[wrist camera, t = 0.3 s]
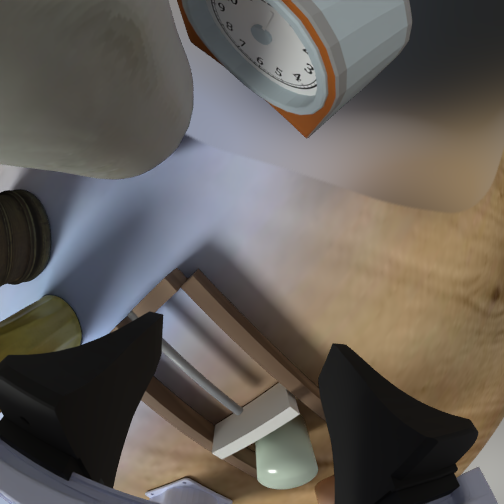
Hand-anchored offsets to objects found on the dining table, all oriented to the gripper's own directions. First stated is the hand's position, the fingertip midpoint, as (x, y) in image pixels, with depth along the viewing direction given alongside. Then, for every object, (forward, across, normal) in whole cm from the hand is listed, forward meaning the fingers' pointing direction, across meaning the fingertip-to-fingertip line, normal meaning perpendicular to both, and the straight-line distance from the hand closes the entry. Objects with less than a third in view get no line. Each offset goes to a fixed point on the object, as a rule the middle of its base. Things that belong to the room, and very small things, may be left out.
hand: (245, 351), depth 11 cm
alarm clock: (+14, +2, -18) cm, 22 cm away
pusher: (+9, +3, +9) cm, 13 cm away
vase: (+9, +17, +9) cm, 21 cm away
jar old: (+8, -6, +15) cm, 18 cm away
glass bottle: (+12, +10, -9) cm, 19 cm away
